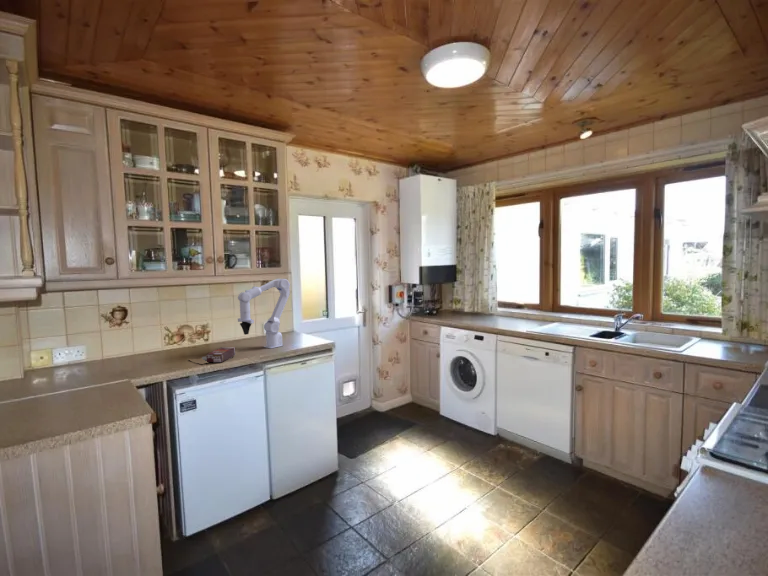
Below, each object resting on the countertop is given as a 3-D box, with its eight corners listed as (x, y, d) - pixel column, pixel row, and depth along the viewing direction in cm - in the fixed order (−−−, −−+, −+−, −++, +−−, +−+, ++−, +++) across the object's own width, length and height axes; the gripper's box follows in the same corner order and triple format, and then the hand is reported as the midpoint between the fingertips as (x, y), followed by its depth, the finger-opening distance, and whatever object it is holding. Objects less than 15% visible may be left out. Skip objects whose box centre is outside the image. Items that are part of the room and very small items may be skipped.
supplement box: (235, 346, 222) (221, 354, 207) (235, 355, 223) (222, 362, 207) (220, 347, 223) (206, 354, 207) (221, 355, 224) (206, 362, 208)
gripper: (232, 312, 233) (233, 334, 234) (245, 313, 224) (247, 336, 225) (243, 310, 239) (244, 332, 240) (256, 312, 230) (257, 334, 231)
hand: (246, 334), depth 233 cm, fingers closed
